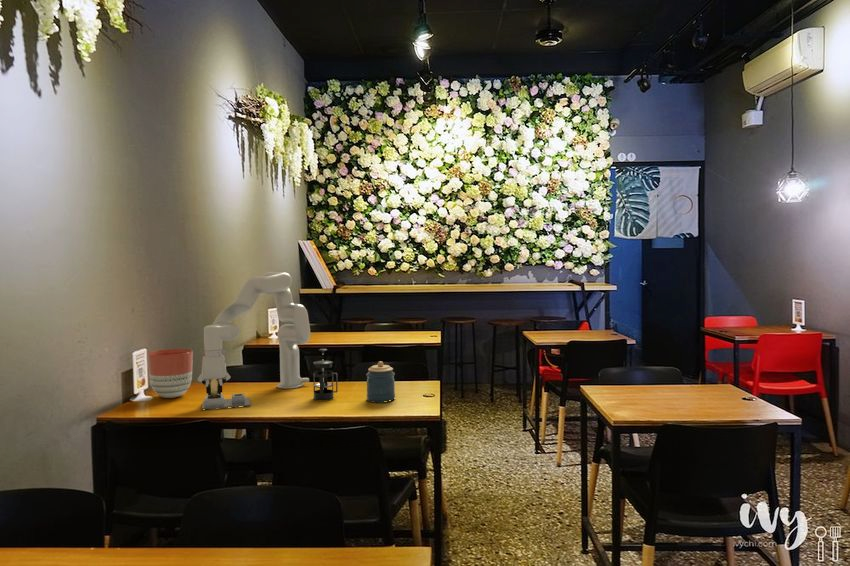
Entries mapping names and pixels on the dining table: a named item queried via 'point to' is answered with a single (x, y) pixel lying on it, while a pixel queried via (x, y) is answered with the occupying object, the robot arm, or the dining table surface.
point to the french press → (323, 380)
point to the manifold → (225, 401)
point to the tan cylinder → (214, 388)
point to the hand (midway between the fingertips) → (214, 394)
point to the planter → (170, 371)
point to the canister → (380, 383)
